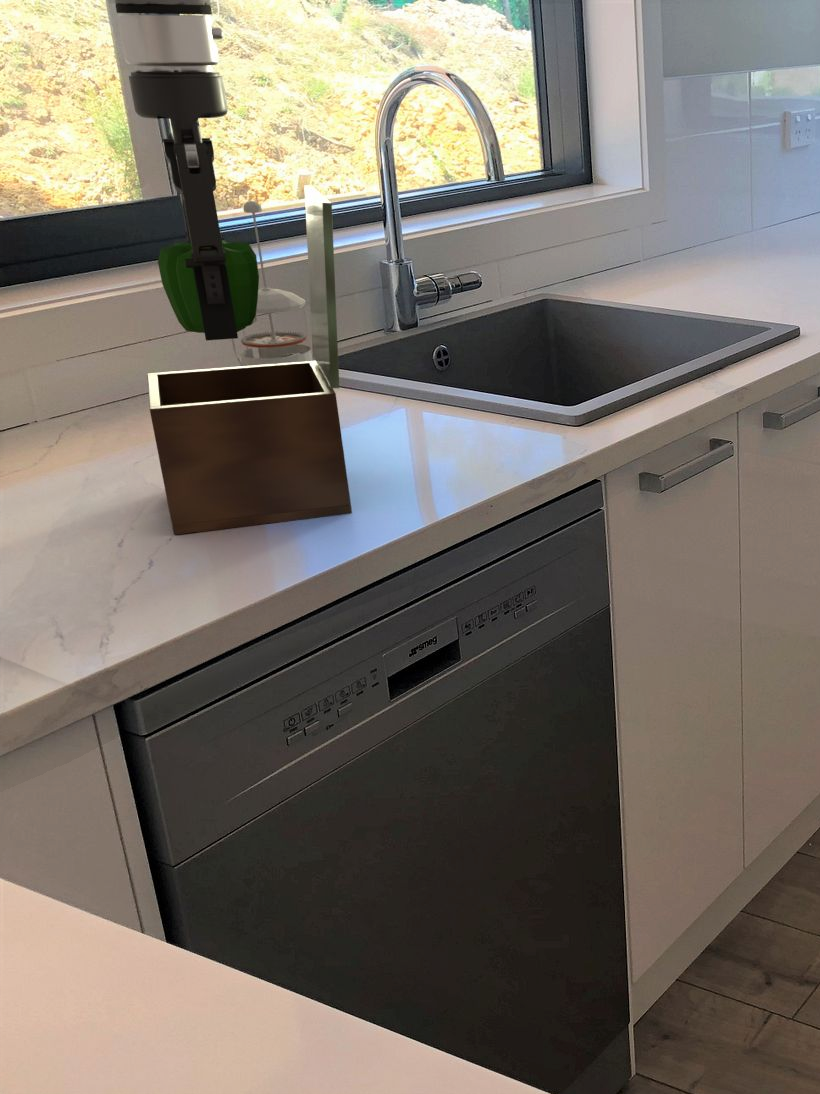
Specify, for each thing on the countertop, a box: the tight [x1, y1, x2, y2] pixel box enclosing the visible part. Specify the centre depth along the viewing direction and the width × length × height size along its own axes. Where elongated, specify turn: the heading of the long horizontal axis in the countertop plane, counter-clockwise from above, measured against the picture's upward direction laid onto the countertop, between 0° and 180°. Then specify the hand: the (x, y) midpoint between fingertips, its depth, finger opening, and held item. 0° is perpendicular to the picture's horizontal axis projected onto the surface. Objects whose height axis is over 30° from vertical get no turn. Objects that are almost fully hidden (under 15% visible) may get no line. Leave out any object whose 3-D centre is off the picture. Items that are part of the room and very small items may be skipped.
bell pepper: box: [157, 240, 260, 334], centre depth 129 cm, size 8×8×10 cm
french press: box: [231, 200, 314, 366], centre depth 161 cm, size 10×12×25 cm
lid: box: [304, 184, 340, 389], centre depth 133 cm, size 17×15×1 cm
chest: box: [146, 360, 353, 536], centre depth 136 cm, size 16×15×12 cm
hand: (218, 328), depth 131 cm, fingers closed on bell pepper, 8 cm apart
